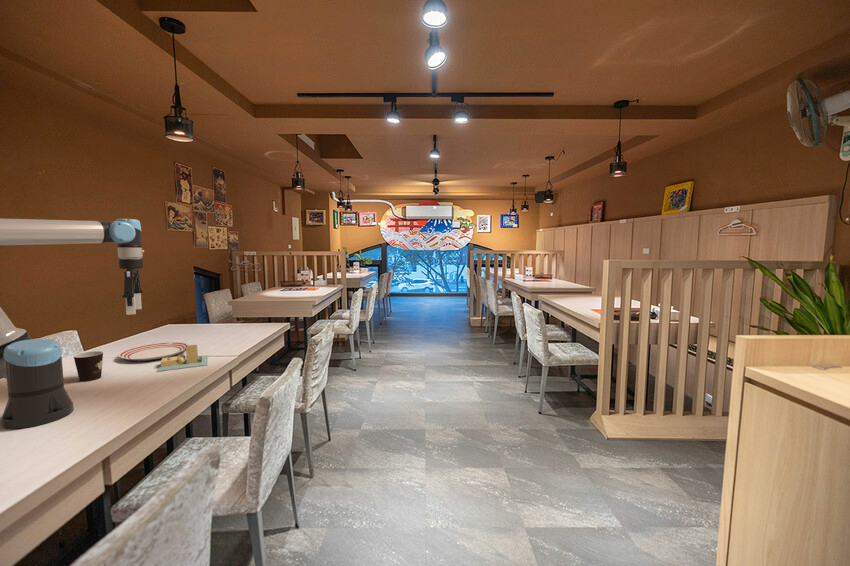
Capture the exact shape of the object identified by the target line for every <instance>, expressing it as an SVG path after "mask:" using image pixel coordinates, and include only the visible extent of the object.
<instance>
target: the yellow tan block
mask: <svg viewBox="0 0 850 566" xmlns="http://www.w3.org/2000/svg"><path fill="white" fill-rule="evenodd" d="M188 345H189V344H188ZM184 352H186V353H185V354H186V355H185V356H186V358H187V364H191V363H197V362H198V344H191V345H189V346H187V347H185V349H184Z"/></svg>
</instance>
